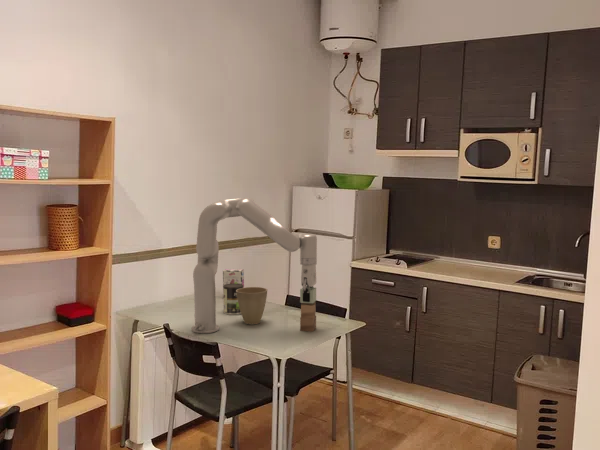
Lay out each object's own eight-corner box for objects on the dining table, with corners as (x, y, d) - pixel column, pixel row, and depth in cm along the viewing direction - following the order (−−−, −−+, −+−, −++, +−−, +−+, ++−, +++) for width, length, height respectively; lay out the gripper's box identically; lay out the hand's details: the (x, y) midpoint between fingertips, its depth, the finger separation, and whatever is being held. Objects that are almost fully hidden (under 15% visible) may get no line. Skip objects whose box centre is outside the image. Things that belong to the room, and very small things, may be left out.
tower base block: (312, 331, 269) (312, 318, 269) (300, 330, 271) (300, 317, 270) (316, 328, 275) (316, 315, 275) (303, 327, 277) (303, 314, 276)
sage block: (312, 303, 268) (313, 290, 268) (300, 302, 270) (300, 289, 269) (316, 300, 274) (316, 287, 273) (303, 299, 275) (303, 286, 275)
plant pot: (265, 317, 293) (265, 286, 292) (269, 326, 279) (269, 292, 277) (235, 319, 291) (235, 287, 289) (237, 327, 276) (237, 293, 275)
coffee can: (247, 311, 305) (247, 284, 304) (233, 315, 297) (233, 288, 296) (233, 308, 312) (232, 282, 310) (219, 312, 303) (218, 285, 302)
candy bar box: (244, 297, 338) (244, 269, 336) (242, 299, 333) (241, 270, 331) (225, 296, 340) (225, 268, 338) (222, 298, 335) (222, 270, 333)
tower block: (314, 318, 269) (314, 305, 269) (300, 318, 270) (300, 305, 269) (315, 315, 275) (315, 302, 274) (302, 314, 276) (302, 302, 275)
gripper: (311, 264, 261) (311, 304, 262) (320, 258, 277) (320, 296, 279) (295, 263, 263) (295, 303, 265) (305, 257, 279) (305, 295, 281)
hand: (308, 299), depth 272 cm, fingers closed on sage block, 5 cm apart
